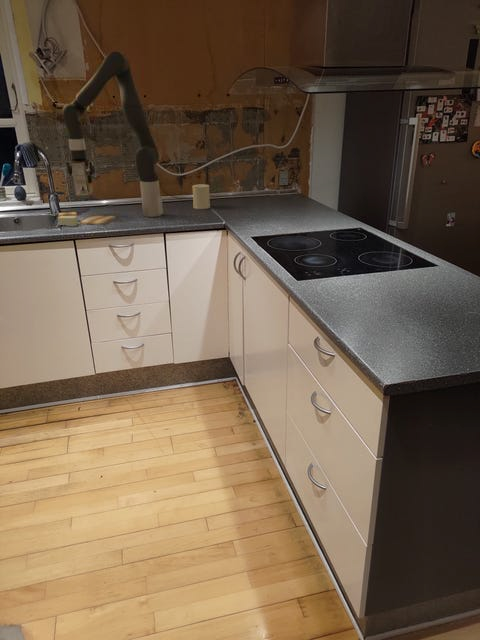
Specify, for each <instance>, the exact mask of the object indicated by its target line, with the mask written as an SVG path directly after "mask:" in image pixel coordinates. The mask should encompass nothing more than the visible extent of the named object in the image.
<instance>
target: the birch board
mask: <svg viewBox="0 0 480 640" xmlns="http://www.w3.org/2000/svg"><path fill="white" fill-rule="evenodd" d="M116 218H117V217H116V215H91V216H90V217H87V218H85V219H84V220H82V221H80V222H79V224H80V225H90V224H95V225H96V226H104V225H106V224H108V223H110V222H112V221H114V220H115V219H116Z"/></svg>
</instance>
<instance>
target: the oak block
mask: <svg viewBox="0 0 480 640" xmlns="http://www.w3.org/2000/svg"><path fill="white" fill-rule="evenodd" d="M60 216H77V211H72V212H69V211H68V212H58V216H57V217H60ZM77 217H78V216H77Z"/></svg>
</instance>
